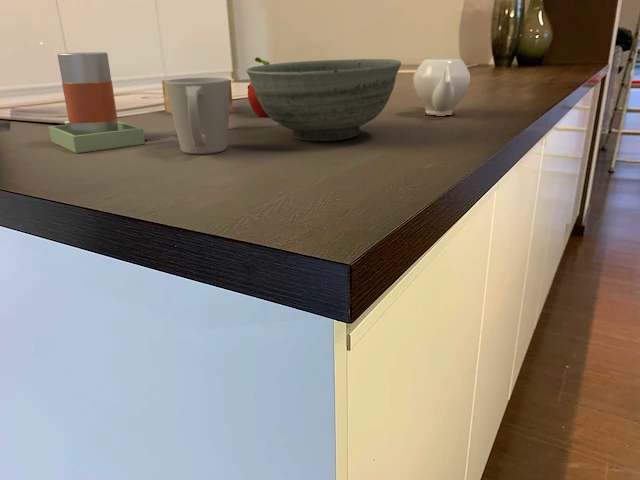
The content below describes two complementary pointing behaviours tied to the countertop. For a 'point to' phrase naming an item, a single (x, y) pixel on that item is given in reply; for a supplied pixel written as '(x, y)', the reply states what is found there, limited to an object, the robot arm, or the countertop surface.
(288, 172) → the countertop surface
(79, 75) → the can
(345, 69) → the bowl
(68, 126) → the tray
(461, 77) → the teapot
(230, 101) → the holder
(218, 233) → the countertop surface
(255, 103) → the red bell pepper
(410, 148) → the countertop surface
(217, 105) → the cup
